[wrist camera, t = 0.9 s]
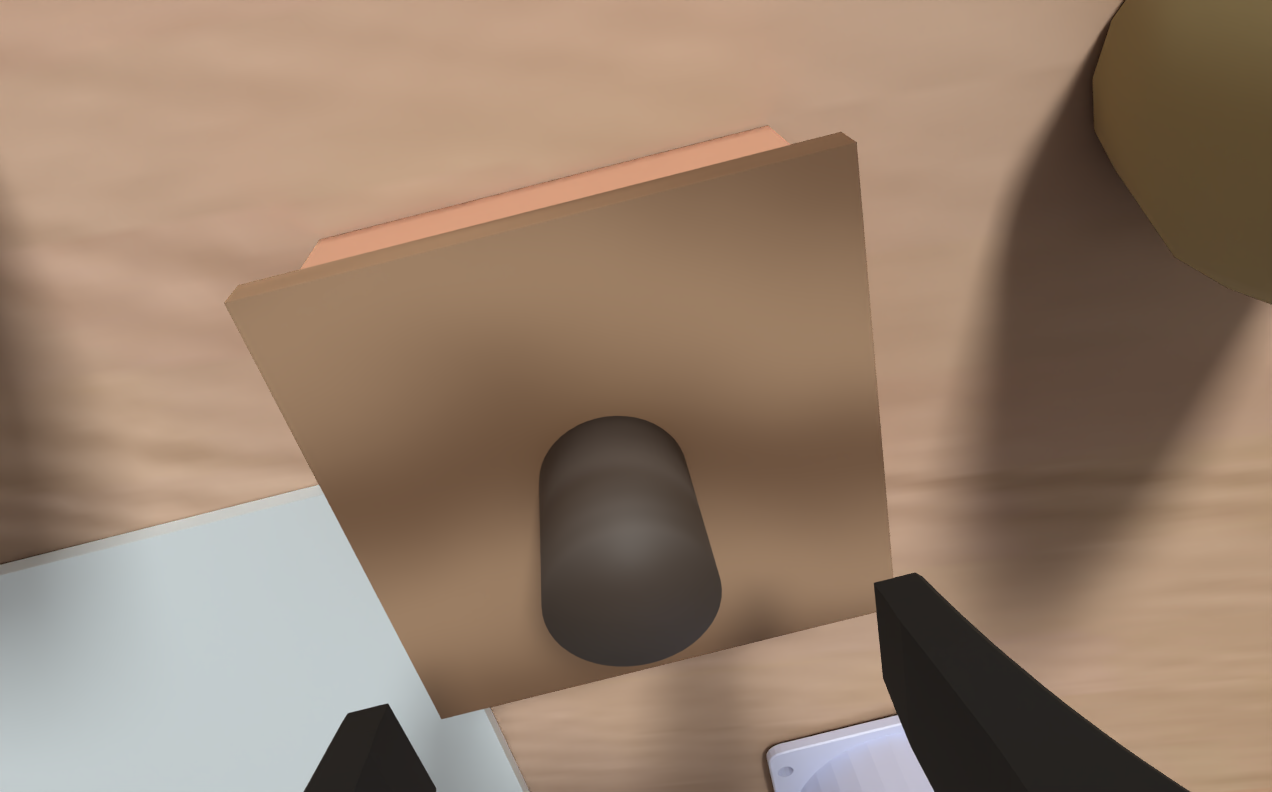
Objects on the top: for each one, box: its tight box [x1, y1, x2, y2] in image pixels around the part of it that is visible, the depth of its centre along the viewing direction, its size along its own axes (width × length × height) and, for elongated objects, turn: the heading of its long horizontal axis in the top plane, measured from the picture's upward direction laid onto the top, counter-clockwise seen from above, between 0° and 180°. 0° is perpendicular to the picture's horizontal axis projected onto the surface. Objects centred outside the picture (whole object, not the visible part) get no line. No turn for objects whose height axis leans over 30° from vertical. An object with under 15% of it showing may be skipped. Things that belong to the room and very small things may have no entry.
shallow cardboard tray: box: [300, 126, 790, 270], centre depth 19 cm, size 10×10×4 cm
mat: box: [0, 485, 530, 792], centre depth 25 cm, size 16×16×1 cm
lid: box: [224, 132, 893, 719], centre depth 16 cm, size 11×11×4 cm
